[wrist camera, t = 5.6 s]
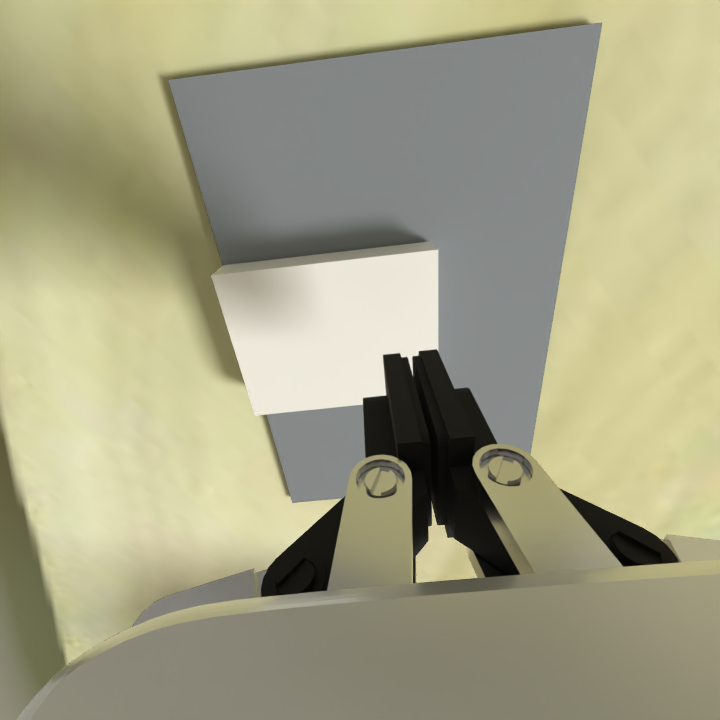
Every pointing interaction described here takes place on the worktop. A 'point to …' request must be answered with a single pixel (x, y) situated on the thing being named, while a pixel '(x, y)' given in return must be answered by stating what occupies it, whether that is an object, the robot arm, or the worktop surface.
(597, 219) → the worktop surface
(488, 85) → the mat
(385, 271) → the tile
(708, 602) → the robot arm
